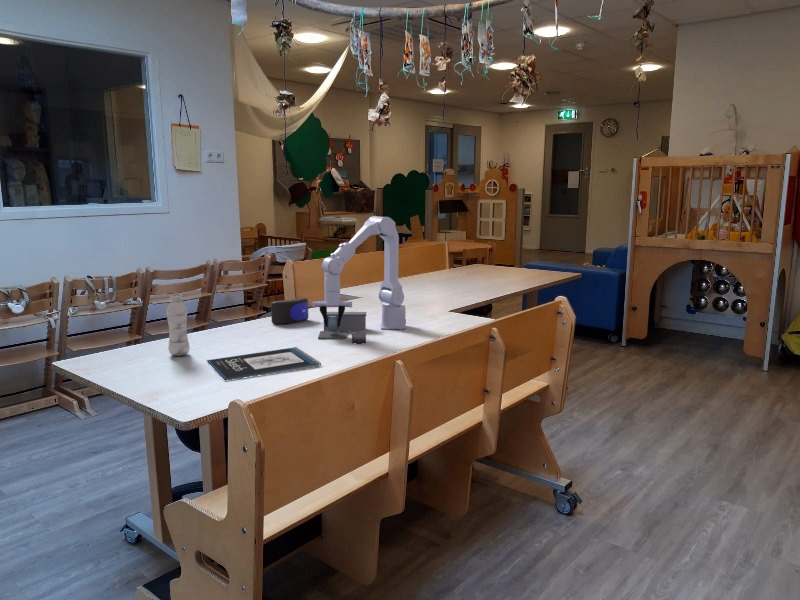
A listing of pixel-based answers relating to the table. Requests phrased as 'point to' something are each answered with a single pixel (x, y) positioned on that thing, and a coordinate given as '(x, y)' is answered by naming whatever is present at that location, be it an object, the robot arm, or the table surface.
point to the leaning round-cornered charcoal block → (289, 311)
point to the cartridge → (332, 323)
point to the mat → (332, 335)
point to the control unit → (350, 321)
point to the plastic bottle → (177, 326)
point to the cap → (358, 336)
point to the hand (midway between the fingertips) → (332, 326)
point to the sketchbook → (263, 363)
